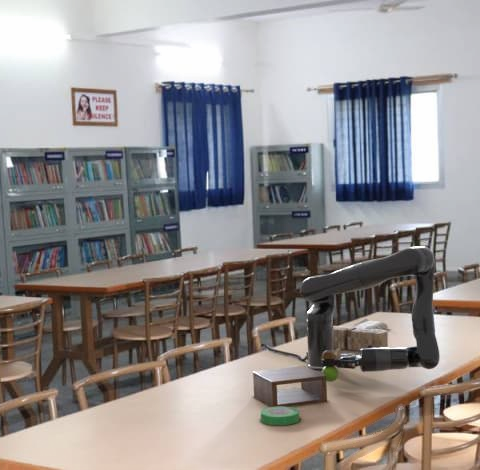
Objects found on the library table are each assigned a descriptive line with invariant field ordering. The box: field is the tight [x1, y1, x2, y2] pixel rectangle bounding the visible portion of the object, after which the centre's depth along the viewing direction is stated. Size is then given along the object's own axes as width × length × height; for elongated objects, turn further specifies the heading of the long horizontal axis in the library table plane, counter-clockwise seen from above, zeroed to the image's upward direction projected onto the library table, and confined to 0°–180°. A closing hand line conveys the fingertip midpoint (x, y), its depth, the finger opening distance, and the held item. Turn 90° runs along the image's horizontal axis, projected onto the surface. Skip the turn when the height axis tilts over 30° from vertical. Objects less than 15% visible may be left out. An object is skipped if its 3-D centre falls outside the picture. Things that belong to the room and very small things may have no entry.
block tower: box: [333, 325, 389, 352], centre depth 367 cm, size 8×8×29 cm
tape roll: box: [260, 406, 300, 426], centre depth 270 cm, size 11×11×3 cm
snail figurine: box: [321, 345, 341, 383], centre depth 305 cm, size 5×6×12 cm
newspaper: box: [350, 318, 389, 330], centre depth 396 cm, size 35×12×4 cm, turn 143°
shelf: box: [252, 365, 328, 407], centre depth 293 cm, size 16×18×8 cm
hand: (322, 362), depth 305 cm, fingers closed on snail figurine
